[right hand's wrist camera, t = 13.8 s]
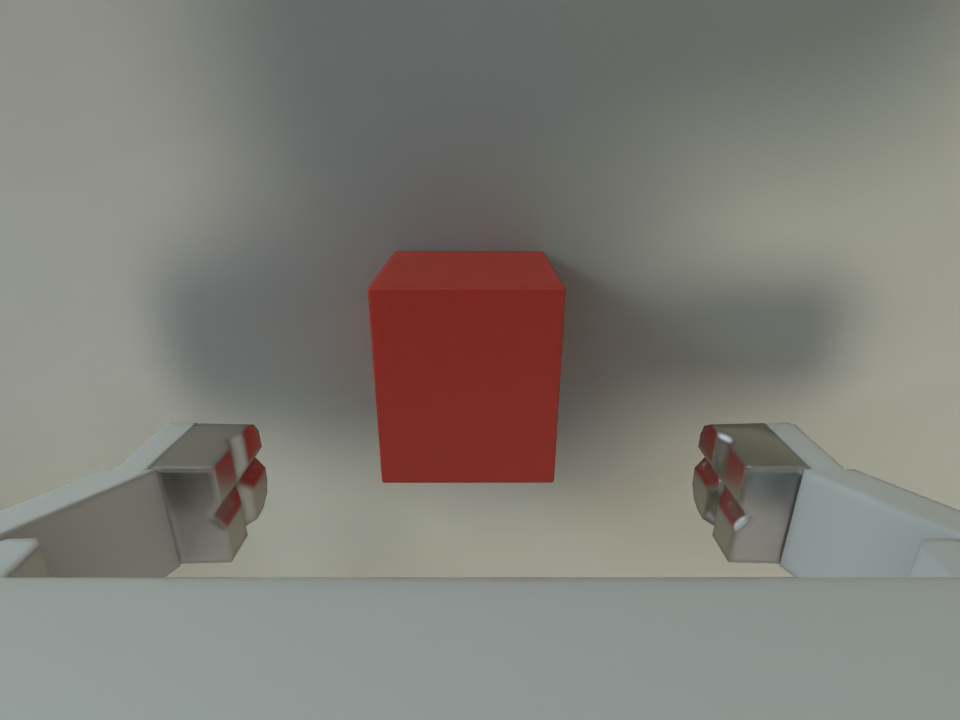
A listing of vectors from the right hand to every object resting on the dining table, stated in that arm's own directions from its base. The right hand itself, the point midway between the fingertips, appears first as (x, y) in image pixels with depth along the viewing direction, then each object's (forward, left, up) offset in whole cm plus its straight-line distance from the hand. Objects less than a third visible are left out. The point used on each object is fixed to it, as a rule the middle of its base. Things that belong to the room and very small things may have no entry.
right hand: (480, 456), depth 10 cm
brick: (0, 0, -7) cm, 7 cm away
